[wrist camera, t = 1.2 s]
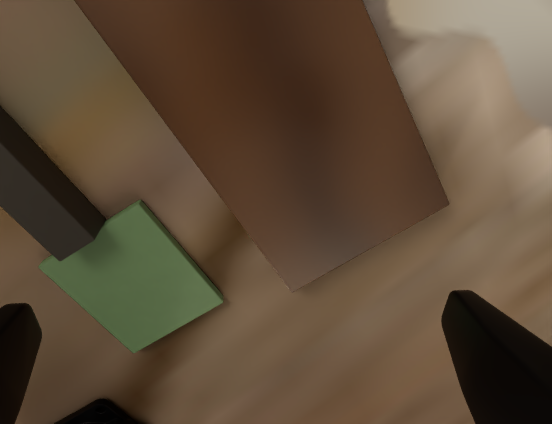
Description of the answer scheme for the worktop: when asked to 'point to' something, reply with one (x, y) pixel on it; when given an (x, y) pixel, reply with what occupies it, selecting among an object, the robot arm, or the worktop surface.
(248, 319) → the worktop surface
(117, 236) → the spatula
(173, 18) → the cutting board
